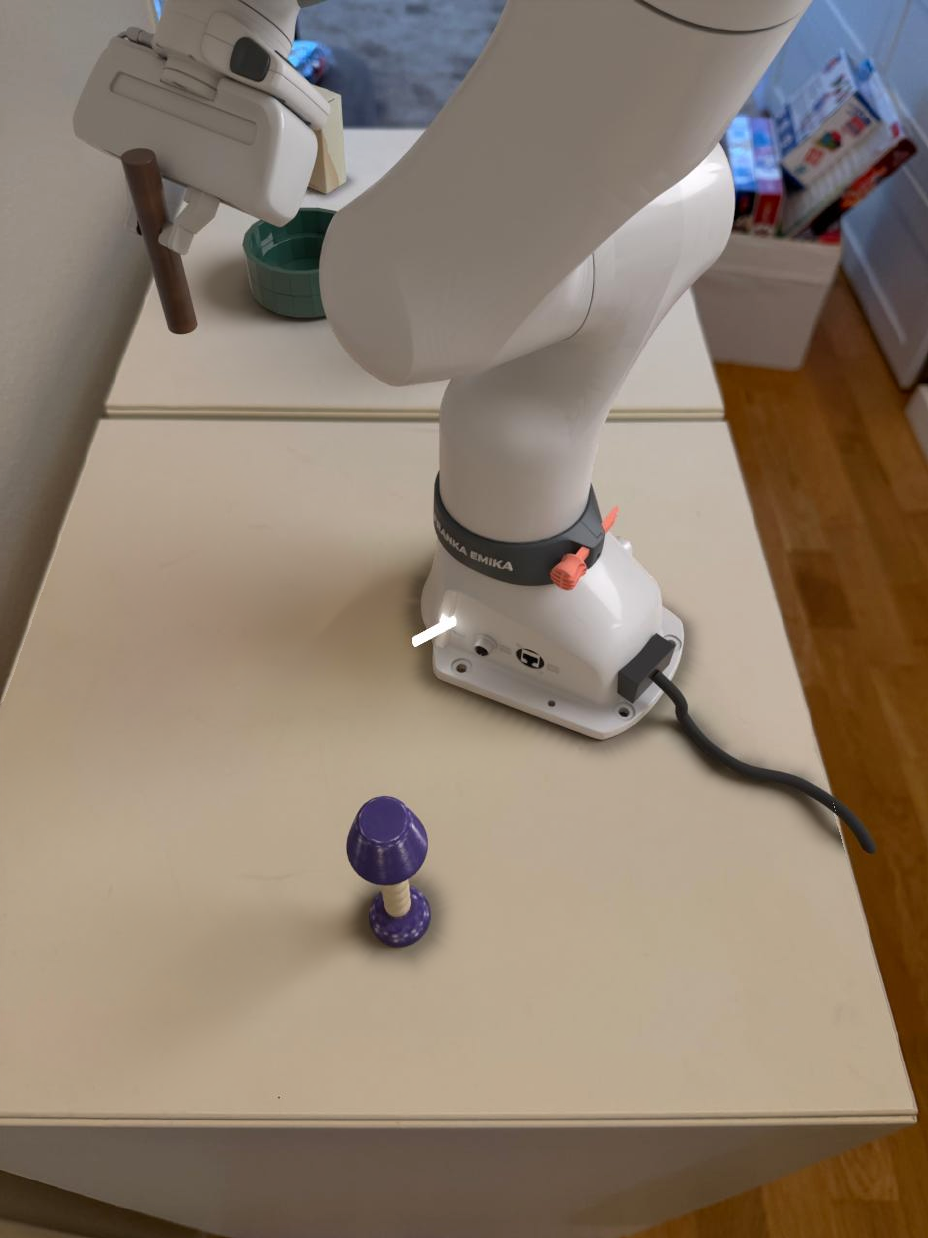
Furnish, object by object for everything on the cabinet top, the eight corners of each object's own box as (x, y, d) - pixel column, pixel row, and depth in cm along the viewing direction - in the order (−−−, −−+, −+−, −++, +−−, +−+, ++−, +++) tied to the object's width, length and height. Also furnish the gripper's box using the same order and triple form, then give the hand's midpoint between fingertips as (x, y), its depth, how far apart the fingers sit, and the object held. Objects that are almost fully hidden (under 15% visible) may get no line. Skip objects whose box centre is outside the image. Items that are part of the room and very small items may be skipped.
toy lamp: (433, 953, 62) (429, 855, 48) (363, 959, 61) (340, 861, 48) (429, 884, 64) (424, 772, 51) (362, 888, 64) (340, 778, 51)
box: (297, 183, 121) (285, 93, 112) (318, 169, 123) (309, 81, 114) (328, 195, 119) (319, 106, 110) (349, 181, 121) (341, 92, 113)
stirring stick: (203, 323, 76) (162, 154, 65) (183, 338, 75) (137, 167, 64) (183, 313, 77) (138, 144, 66) (161, 327, 76) (113, 157, 65)
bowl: (391, 280, 108) (389, 232, 103) (317, 336, 101) (310, 288, 97) (304, 242, 113) (298, 194, 108) (227, 294, 106) (217, 246, 101)
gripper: (87, -4, 67) (27, 183, 70) (301, 70, 61) (225, 273, 63) (148, 43, 73) (91, 213, 76) (349, 115, 66) (278, 299, 69)
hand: (153, 241), depth 70 cm, fingers closed on stirring stick, 2 cm apart
